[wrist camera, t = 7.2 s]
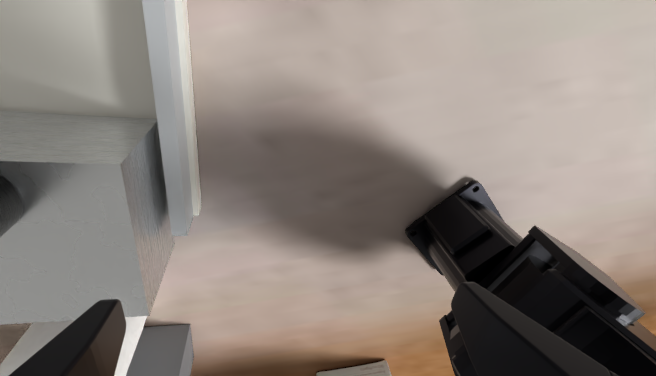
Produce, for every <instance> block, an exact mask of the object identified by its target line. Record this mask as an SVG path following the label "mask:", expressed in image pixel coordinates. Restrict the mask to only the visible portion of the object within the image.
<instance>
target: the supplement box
mask: <svg viewBox="0 0 656 376" xmlns="http://www.w3.org/2000/svg"><path fill="white" fill-rule="evenodd" d="M316 376H392V375H391V373H390V370H389V366H388V363H387V361H386V360H383V361H380V362H377V363H371V364H366V365H361V366H355V367H349V368H343V369H337V370H331V371H321V372H317V374H316Z"/></svg>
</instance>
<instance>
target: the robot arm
mask: <svg viewBox="0 0 656 376" xmlns="http://www.w3.org/2000/svg"><path fill="white" fill-rule="evenodd" d="M475 186H476V188H475V189H473V188H474V187H475ZM412 231H414V232H413V233H411V232H412ZM405 233H406V235H407V236H408V238H409V239H410V240H411V241H412V242H413V243H414V245H415V246H416V247H417V248H418V249H419V250H420V251H421V253H422V254H423V255H424V256H425V257H426V258H427V259H428V260H429V262H430V263H431V264H432V265H433V266H434V267H435V268H436V270H437V271H438V272H439V273H440V274H441V275H444V276H445V278H446V279H447V281H448V282H449V284H450V285H451V287H452V288H453V290H454V291H455V294H454V297H453V299H452V303H451V308H452V311H451V312H450V313H449V314H448V315H444V316H443V317H442V318H441V319H440V320H439V322H440V325H441V329H442V332H443V336H444V339H445V343H446V346H447V350H448V353H449V357H450V360H451V364H452V367H453V371H454V373H455V376H656V336H655V335H654V334H652V333H651V332H650V331H649V330H647V329H646V328H645V327H644V326H642V325H641V324H640V323H639V322H638V321H637V320H638V319H639V318H640V317H642V316H643V315H644V314H646V313H645V311H644V310H643V309H642V308H641V307H640V306H639V305H638V304H637V303H636V302H635V301H634V300H633V299H632V298H631V297H630V296H629V295H628V294H627V293H625V292H624V291H623V290H622V289H621V288H620V287H619V286H618V285H617V284H616V283H615V282H614V281H613V280H612V279H611V278H610V277H609V276H608V275H607V274H605V273H604V272H603V271H601V270H600V269H599V268H597V267H596V266H595V265H593V264H592V263H591V262H589V261H588V260H587V259H585V258H584V257H583V256H581V255H580V254H579V253H578V252H576V251H575V250H573V249H572V248H570V247H568V246H567V245H565V244H564V243H562V242H560V241H559V240H557V239H556V238H554V237H552V236H551V235H549V234H548V233H546V232H545V231H543V230H541V229H540V228H538V227H537V226H534V227H533V228H532V229H531V230H530V231H529V234H528V235H527V236H526V237H525V238H524V239H523V238H522V237H521V236H520V235H518V234H517V233H516V232H515V231H514V230H513V229H512V228H511V227H510V226H508V225H507V224H506V223H505V222H504V221H503V219H502V217H501V216H500V214H499V212H498V211H497V209H496V207H495V206H494V204H493V202H492V201H491V199H490V198H489V196H488V194H487V193H486V191H485V189H484V188H483V186H482V185H481V184H480V183H479V182H478V181H472V182H470V183H468V184H467V185H466V186H464V187H463V188H461V189H460V190H459V191H457V192H456V193H454V194H453V195H452V196H450V197H449V198H448V199H446V200H445V201H443V202H442V203H441V204H439V205H438V206H436V207H435V208H434V209H432V210H431V211H429V212H428V213H427V214H425V215H424V216H422V217H421V218H420V219H418V220H417V221H416V222H414V223H413V224H411V225H410V226H409V227H407V228H406V230H405ZM125 332H126V320H125V316H124V312H123V308H122V303H121V301H120V300H119V299H104V300H100V301H98V302H96V303H95V304H94V305H93V306H91V307H90V308H89V309H88V310H87V311H85V312H84V313H83V314H82V315H81V316H79V317H78V318H77V319H76V320H75V321H73V322H72V323H71V324H70V325H69V326H67V327H66V328H65V329H64V330H63V331H61V332H60V333H59V334H58V335H57V336H55V337H54V338H53V339H52V340H51V341H49V342H48V343H47V344H46V345H45V346H43V347H42V348H41V349H40V350H39V351H37V352H36V353H35V354H34V355H33V356H31V357H30V358H29V359H28V360H27V361H25V362H24V363H23V364H22V365H21V366H19V367H18V368H17V369H16V370H15V371H13V372H12V373H11V374H10V375H9V376H114V374H115V371H116V367H117V363H118V359H119V355H120V351H121V348H122V344H123V340H124V336H125Z"/></svg>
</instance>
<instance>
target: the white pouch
mask: <svg viewBox="0 0 656 376" xmlns="http://www.w3.org/2000/svg"><path fill="white" fill-rule="evenodd" d="M146 318H147V316H138V317H125V320H126V332H125V336H124V340H123V344H122V348H121V351H120V355H119V359H118V363H117V367H116V371H115V374H114V376H126V374H127V370H128V368H129V365H130V363H131V360H132V357H133V355H134V351H135V349H136V346H137V343H138V340H139V338H140V335H141V333H142V330H143V327H144V324H145V321H146ZM73 321H75V320H70V321H53V322H36V323H32V324H31V325H30V327H29V328H28V329H27V331H26V332H25V333H24V334H23V336H22V337H21V338H20V340H19V341H18V342H17V344H16V345H15V346H14V347H13V349H12V350H11V352H10V353H9V354H8V355H7V356H6V358H5V359H4V360H3V362H2V363H1V365H0V376H9V375H10V374H11V373H12V372H13V371H15V370H16V369H17V368H18V367H19V366H21V365H22V364H23V363H24V362H25V361H27V360H28V359H29V358H30V357H31V356H33V355H34V354H35V353H36V352H37V351H39V350H40V349H41V348H42V347H43V346H45V345H46V344H47V343H48V342H49V341H51V340H52V339H53V338H54V337H55V336H57V335H58V334H59V333H60V332H61V331H63V330H64V329H65V328H66V327H67V326H69V325H70V324H71V323H72V322H73Z"/></svg>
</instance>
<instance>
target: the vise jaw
mask: <svg viewBox="0 0 656 376" xmlns="http://www.w3.org/2000/svg"><path fill="white" fill-rule="evenodd" d="M173 247H174V237H173V236H172V232H171V224H170V216H169V208H168V200H167V192H166V185H165V177H164V169H163V161H162V153H161V145H160V138H159V130H158V122H157V119H146V118H128V117H110V116H92V115H74V114H56V113H38V112H20V111H3V110H0V325H2V324H19V323H36V322H53V321H70V320H76V319H77V318H78V317H79V316H81V315H82V314H83V313H84V312H85V311H87V310H88V309H89V308H90V307H91V306H93V305H94V304H95V303H96V302H98V301H100V300H104V299H119V300H120V301H121V303H122V308H123V312H124V316H125V317H138V316H149V315H150V312H151V310H152V307H153V304H154V301H155V298H156V295H157V292H158V290H159V287H160V284H161V281H162V278H163V275H164V273H165V270H166V267H167V264H168V261H169V258H170V255H171V253H172V250H173Z"/></svg>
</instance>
